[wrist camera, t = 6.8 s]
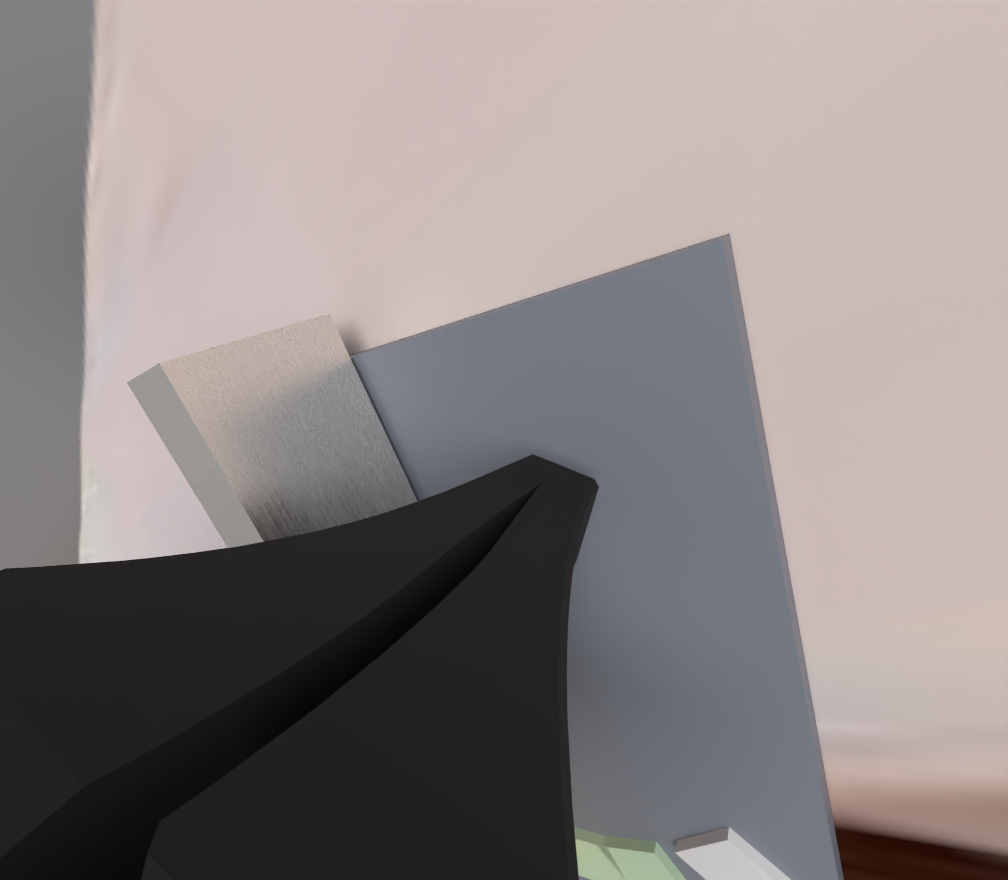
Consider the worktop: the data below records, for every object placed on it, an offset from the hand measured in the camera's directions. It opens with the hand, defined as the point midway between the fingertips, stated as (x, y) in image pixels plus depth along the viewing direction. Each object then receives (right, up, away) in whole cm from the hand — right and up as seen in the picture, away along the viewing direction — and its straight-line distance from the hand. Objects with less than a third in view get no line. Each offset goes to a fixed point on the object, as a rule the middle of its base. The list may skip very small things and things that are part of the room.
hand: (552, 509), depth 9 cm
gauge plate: (-1, -5, +6) cm, 8 cm away
